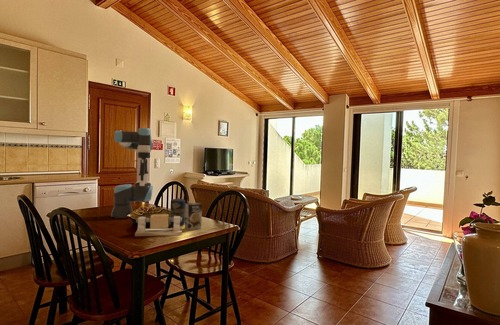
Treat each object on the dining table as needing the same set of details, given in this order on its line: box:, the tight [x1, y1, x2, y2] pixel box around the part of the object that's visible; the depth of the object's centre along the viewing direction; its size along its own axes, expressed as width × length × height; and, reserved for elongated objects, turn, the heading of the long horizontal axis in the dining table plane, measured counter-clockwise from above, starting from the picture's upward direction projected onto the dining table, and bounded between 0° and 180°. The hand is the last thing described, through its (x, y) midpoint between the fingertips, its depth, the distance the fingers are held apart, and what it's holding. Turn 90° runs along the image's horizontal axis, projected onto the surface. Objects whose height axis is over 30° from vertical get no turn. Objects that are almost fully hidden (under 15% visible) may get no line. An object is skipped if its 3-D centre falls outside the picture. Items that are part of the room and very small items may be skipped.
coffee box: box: [184, 202, 203, 231], centre depth 189 cm, size 9×6×16 cm
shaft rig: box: [134, 216, 183, 237], centre depth 176 cm, size 10×26×10 cm, turn 103°
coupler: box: [149, 213, 170, 229], centre depth 176 cm, size 6×10×7 cm, turn 103°
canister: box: [169, 197, 186, 226], centre depth 198 cm, size 10×10×18 cm
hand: (143, 184), depth 192 cm, fingers open, 13 cm apart
